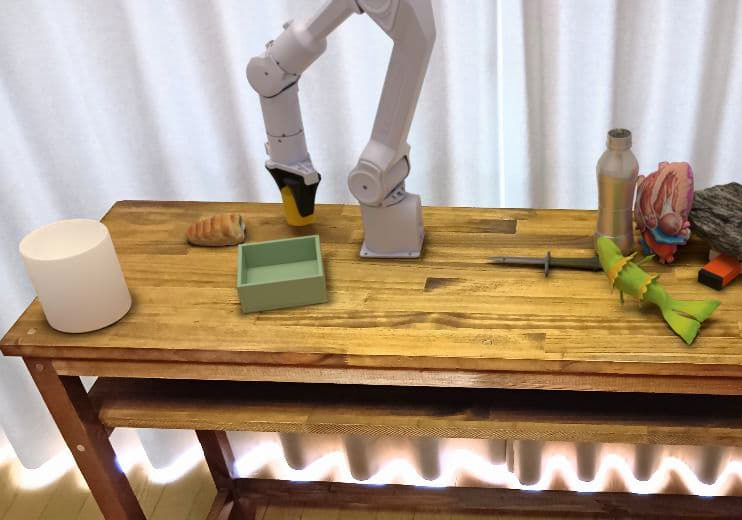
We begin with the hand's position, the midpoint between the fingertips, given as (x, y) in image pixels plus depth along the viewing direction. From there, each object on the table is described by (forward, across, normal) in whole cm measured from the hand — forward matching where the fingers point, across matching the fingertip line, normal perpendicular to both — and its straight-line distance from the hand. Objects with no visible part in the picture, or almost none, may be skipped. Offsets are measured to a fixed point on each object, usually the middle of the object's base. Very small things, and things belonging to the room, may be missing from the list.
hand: (299, 208), depth 148 cm
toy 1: (-3, +59, +25) cm, 64 cm away
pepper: (+2, 0, 0) cm, 2 cm away
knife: (+3, +32, +25) cm, 41 cm away
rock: (-6, +43, +49) cm, 65 cm away
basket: (+4, +14, -10) cm, 17 cm away
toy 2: (+3, +54, +39) cm, 67 cm away
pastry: (+4, -6, -12) cm, 14 cm away
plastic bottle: (+4, +38, +34) cm, 52 cm away
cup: (+4, +2, -36) cm, 36 cm away
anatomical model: (-10, +40, +43) cm, 60 cm away
